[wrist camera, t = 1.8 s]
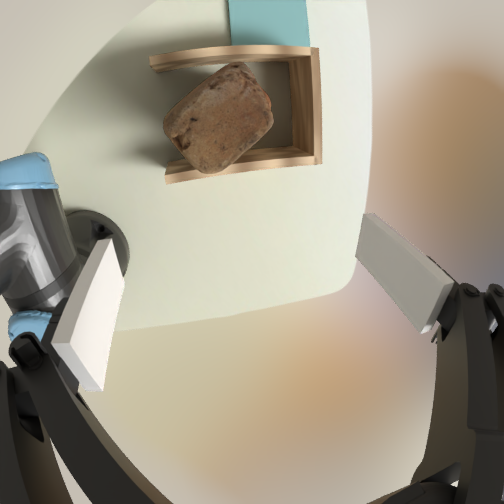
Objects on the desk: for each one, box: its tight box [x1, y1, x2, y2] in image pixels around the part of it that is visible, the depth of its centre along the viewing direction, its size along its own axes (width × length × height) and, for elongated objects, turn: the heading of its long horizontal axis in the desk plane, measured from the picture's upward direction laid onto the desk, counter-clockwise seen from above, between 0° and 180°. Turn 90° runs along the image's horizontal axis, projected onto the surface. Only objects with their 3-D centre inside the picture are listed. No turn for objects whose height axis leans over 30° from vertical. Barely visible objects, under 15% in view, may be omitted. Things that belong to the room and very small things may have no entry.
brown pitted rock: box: [163, 61, 274, 174], centre depth 28 cm, size 11×8×20 cm
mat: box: [228, 0, 310, 47], centre depth 29 cm, size 12×12×1 cm
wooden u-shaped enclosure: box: [149, 45, 322, 184], centre depth 33 cm, size 21×16×8 cm
